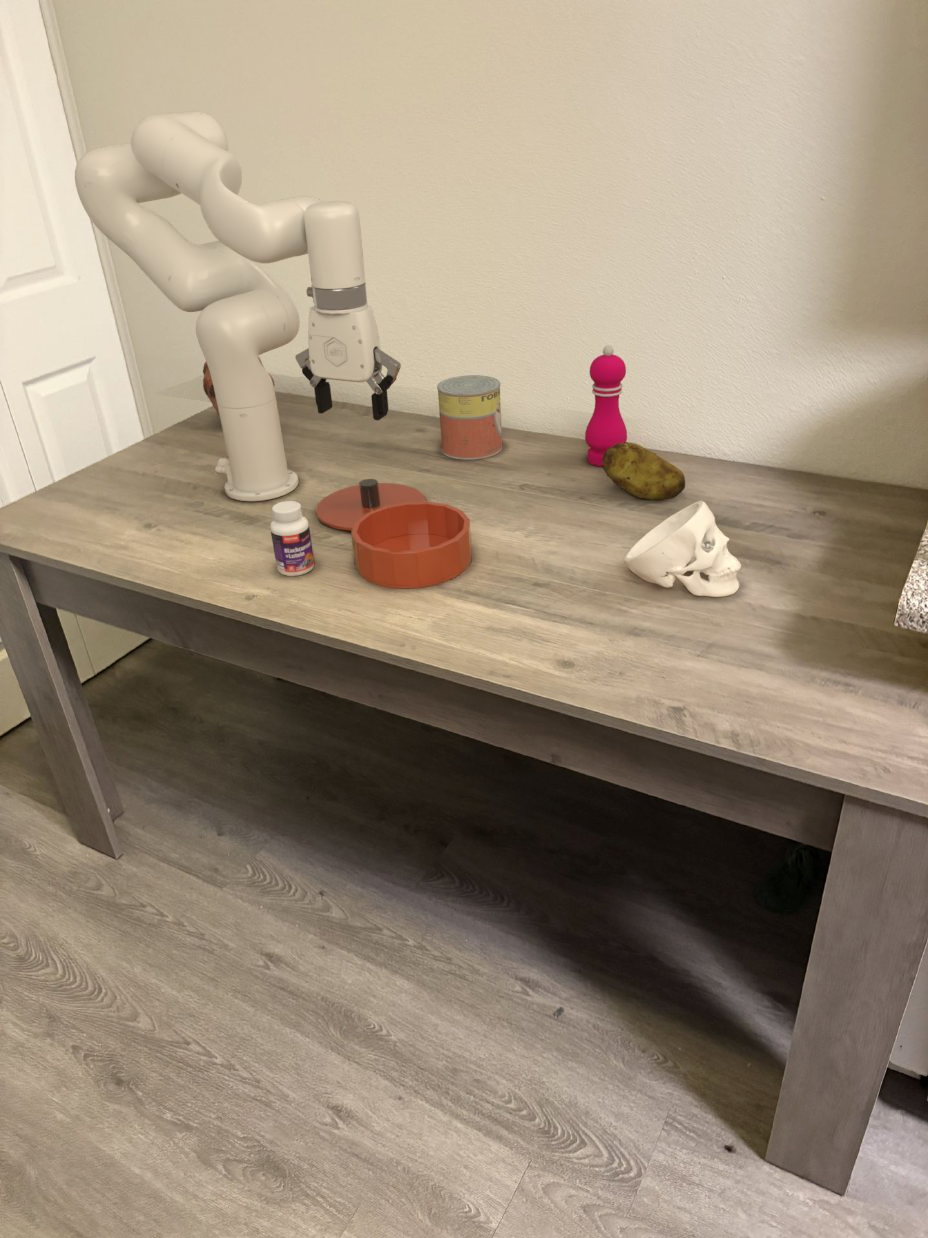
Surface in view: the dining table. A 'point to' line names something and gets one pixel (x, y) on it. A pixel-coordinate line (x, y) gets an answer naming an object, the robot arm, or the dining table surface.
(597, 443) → the pepper mill
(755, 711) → the dining table surface
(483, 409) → the canned food
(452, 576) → the pot
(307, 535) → the pill bottle
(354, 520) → the lid
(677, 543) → the skull bowl
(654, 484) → the potato
